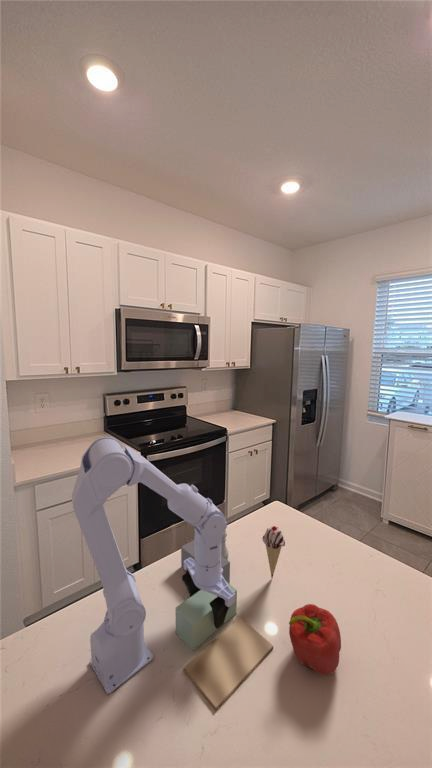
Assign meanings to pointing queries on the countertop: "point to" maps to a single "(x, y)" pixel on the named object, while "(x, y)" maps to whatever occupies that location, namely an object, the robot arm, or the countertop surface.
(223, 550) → the rook chess piece
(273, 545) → the ice cream cone
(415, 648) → the countertop surface
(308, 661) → the vegetable
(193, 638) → the sage cover
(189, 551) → the gray block
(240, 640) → the cork trivet
